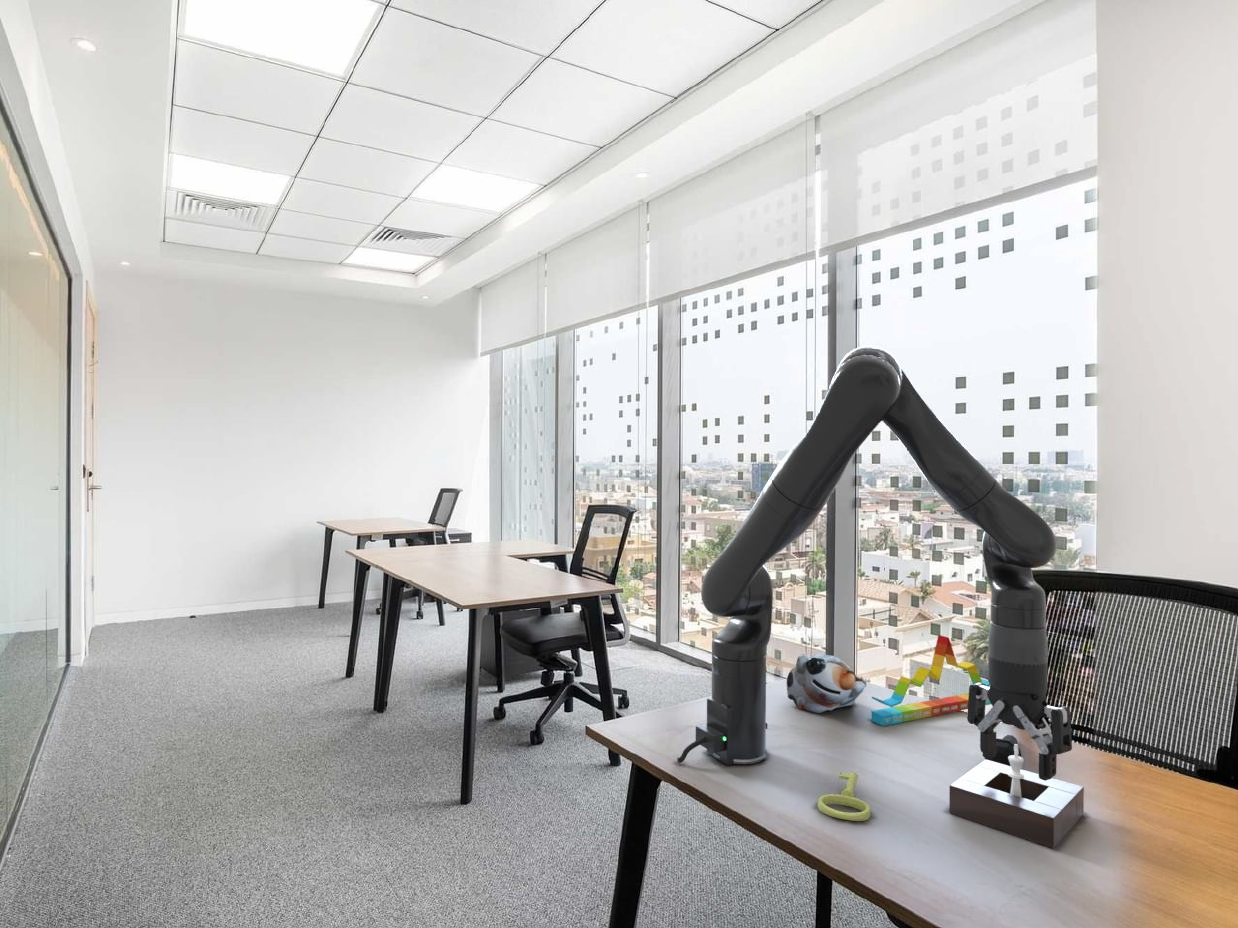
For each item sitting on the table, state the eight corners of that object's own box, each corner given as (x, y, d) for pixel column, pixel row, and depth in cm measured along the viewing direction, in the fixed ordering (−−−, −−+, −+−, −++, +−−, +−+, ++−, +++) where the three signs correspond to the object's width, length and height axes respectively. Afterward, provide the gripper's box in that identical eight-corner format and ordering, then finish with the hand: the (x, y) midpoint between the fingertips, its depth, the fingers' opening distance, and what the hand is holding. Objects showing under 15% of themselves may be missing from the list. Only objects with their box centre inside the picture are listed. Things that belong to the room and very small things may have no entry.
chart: (883, 726, 141) (884, 647, 141) (871, 720, 144) (871, 643, 144) (994, 704, 154) (995, 632, 154) (981, 699, 157) (982, 628, 157)
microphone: (1001, 755, 135) (988, 781, 118) (991, 722, 136) (977, 743, 120) (1034, 752, 132) (1026, 778, 116) (1023, 718, 134) (1014, 739, 117)
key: (857, 784, 116) (857, 770, 116) (873, 823, 104) (873, 807, 104) (809, 781, 117) (809, 768, 117) (820, 820, 105) (820, 805, 105)
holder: (1053, 848, 97) (1053, 818, 97) (949, 812, 107) (949, 785, 107) (1083, 814, 106) (1083, 786, 106) (985, 784, 116) (985, 758, 116)
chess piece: (998, 818, 105) (998, 748, 105) (995, 803, 110) (995, 735, 110) (1037, 824, 103) (1038, 753, 103) (1032, 809, 108) (1033, 740, 108)
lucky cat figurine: (860, 699, 157) (877, 649, 150) (848, 738, 147) (865, 688, 140) (791, 670, 162) (805, 622, 155) (775, 707, 153) (788, 657, 146)
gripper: (1083, 663, 102) (1082, 781, 102) (988, 641, 115) (987, 745, 115) (1051, 671, 98) (1049, 792, 99) (956, 646, 111) (955, 754, 111)
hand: (1016, 767), depth 107 cm, fingers open, 8 cm apart
